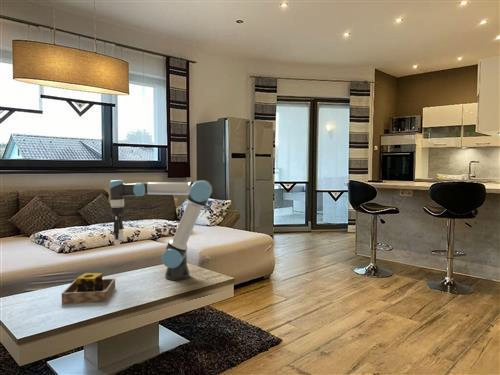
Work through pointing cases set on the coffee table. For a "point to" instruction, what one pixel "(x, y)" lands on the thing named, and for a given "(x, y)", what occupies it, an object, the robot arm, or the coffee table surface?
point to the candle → (89, 282)
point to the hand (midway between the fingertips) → (119, 242)
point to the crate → (88, 293)
